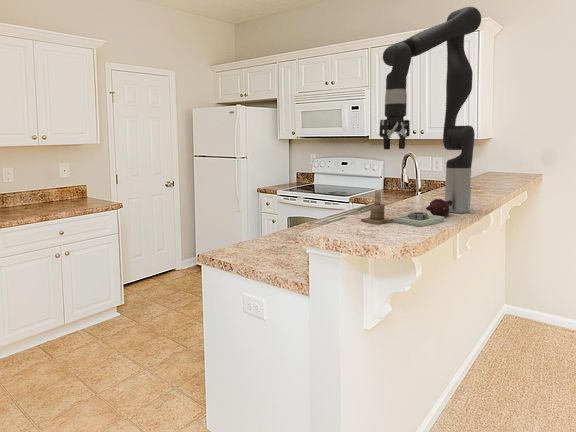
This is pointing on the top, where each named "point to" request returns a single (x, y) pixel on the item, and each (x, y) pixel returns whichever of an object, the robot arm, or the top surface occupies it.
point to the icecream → (439, 207)
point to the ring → (418, 216)
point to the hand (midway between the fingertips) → (394, 149)
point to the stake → (377, 212)
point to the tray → (405, 220)
